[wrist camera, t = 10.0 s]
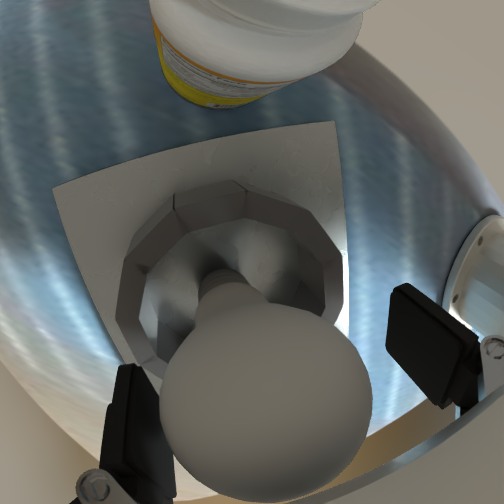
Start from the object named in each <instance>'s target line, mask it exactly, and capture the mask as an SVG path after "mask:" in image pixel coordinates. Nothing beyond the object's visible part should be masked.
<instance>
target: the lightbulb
mask: <svg viewBox="0 0 504 504" xmlns="http://www.w3.org/2000/svg"><path fill="white" fill-rule="evenodd" d="M195 324H196V326H195V329H194V330H193V331H192V332H191V333H190V334H189V335H188V336H187V338H186V339H185V340H184V341H183V343H182V344H181V345H180V347H179V348H178V349H177V351H176V352H175V354H174V355H173V357H172V358H171V360H170V361H169V364H168V366H167V369H166V372H165V375H164V378H163V381H162V385H161V388H160V397H159V412H160V421H161V424H162V428H163V431H164V434H165V437H166V440H167V442H168V445H169V447H170V449H171V450H172V452H173V454H174V456H175V457H176V459H177V460H178V462H179V463H180V464H181V465H182V466H183V467H184V468H185V469H186V470H187V471H188V472H189V473H190V474H191V475H192V476H193V477H194V478H195V479H196V480H198V481H199V482H201V483H202V484H204V485H205V486H207V487H209V488H210V489H212V490H213V491H215V492H217V493H219V494H222V495H225V496H228V497H231V498H235V499H238V500H242V501H249V502H261V503H275V502H282V501H287V500H292V499H295V498H298V497H301V496H304V495H307V494H309V493H312V492H314V491H316V490H318V489H320V488H322V487H323V486H325V485H327V484H328V483H329V482H331V481H332V480H334V479H335V478H336V477H337V476H338V475H339V474H340V473H341V472H342V471H343V470H344V469H345V468H346V467H347V466H348V465H349V464H350V462H351V461H352V460H353V458H354V457H355V455H356V454H357V452H358V450H359V449H360V447H361V446H362V444H363V442H364V440H365V438H366V435H367V431H368V427H369V423H370V420H371V416H372V400H373V397H372V387H371V383H370V379H369V375H368V371H367V369H366V367H365V365H364V363H363V361H362V359H361V357H360V355H359V353H358V351H357V349H356V347H355V346H354V345H353V344H352V343H351V341H350V340H349V339H348V338H347V337H346V336H345V335H344V334H343V333H342V332H341V331H340V330H339V329H338V328H337V327H335V326H334V325H332V324H330V323H329V322H327V321H326V320H324V319H323V318H321V317H319V316H317V315H315V314H313V313H311V312H309V311H306V310H302V309H298V308H294V307H290V306H285V305H281V304H277V303H269V302H268V301H267V300H266V299H265V298H264V296H263V295H262V293H261V292H259V291H258V290H257V289H256V288H254V287H252V286H251V285H250V283H249V282H248V281H247V280H246V278H245V277H244V276H243V275H242V274H241V273H239V272H238V271H236V270H232V269H219V270H215V271H213V272H211V273H209V274H208V275H207V276H206V277H205V278H204V279H203V280H202V282H201V283H200V286H199V290H198V307H197V309H196V314H195Z"/></svg>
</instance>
